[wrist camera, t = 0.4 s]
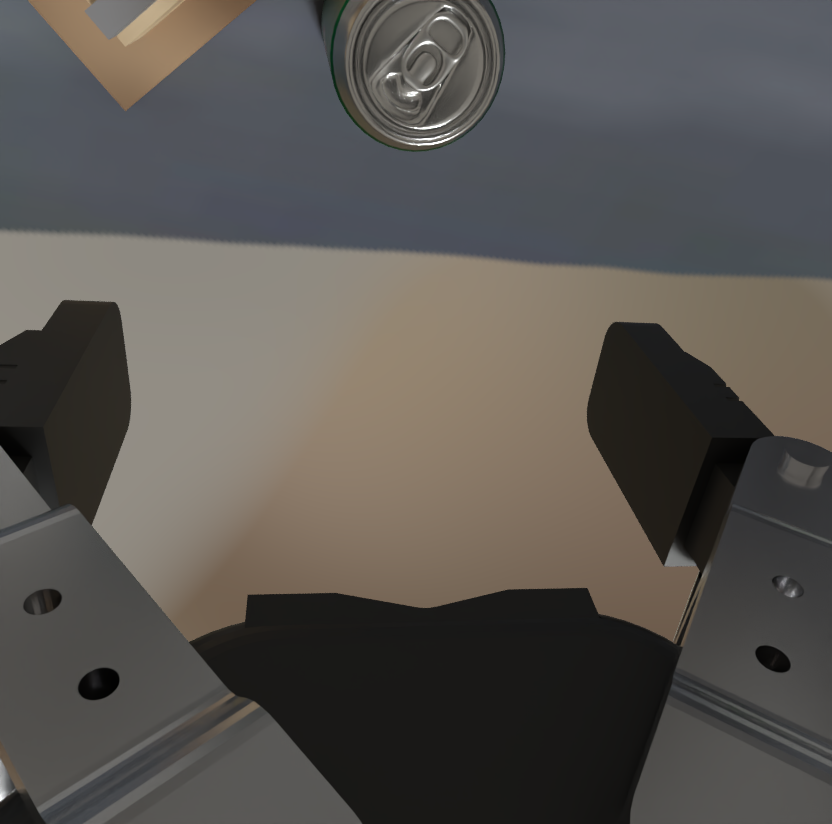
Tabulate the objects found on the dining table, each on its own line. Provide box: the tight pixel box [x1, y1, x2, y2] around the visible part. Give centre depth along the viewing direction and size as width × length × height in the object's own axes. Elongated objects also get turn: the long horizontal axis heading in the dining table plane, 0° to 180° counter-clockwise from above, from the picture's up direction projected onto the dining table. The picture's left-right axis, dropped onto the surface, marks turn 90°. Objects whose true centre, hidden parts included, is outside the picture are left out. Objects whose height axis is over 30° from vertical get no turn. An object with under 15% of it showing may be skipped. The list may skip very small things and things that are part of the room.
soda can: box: [321, 0, 505, 152], centre depth 25 cm, size 5×5×12 cm
